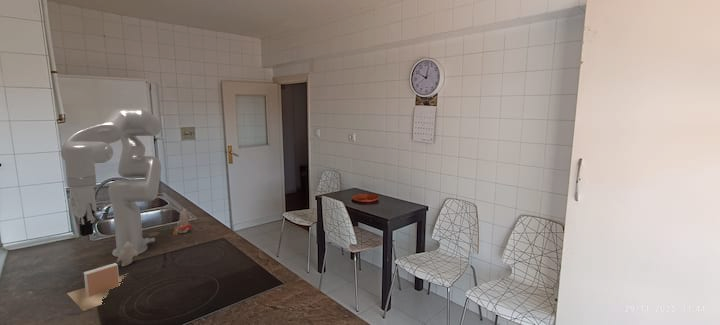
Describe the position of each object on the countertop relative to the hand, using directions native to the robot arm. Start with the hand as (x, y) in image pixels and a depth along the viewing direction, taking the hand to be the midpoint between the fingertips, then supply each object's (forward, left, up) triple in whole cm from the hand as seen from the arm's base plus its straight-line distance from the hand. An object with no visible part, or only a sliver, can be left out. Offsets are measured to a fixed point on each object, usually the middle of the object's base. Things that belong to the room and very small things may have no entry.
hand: (86, 234), depth 118 cm
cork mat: (-2, +8, -19) cm, 21 cm away
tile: (-1, +7, -19) cm, 20 cm away
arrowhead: (-14, -8, -19) cm, 25 cm away
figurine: (-45, -28, -19) cm, 57 cm away
